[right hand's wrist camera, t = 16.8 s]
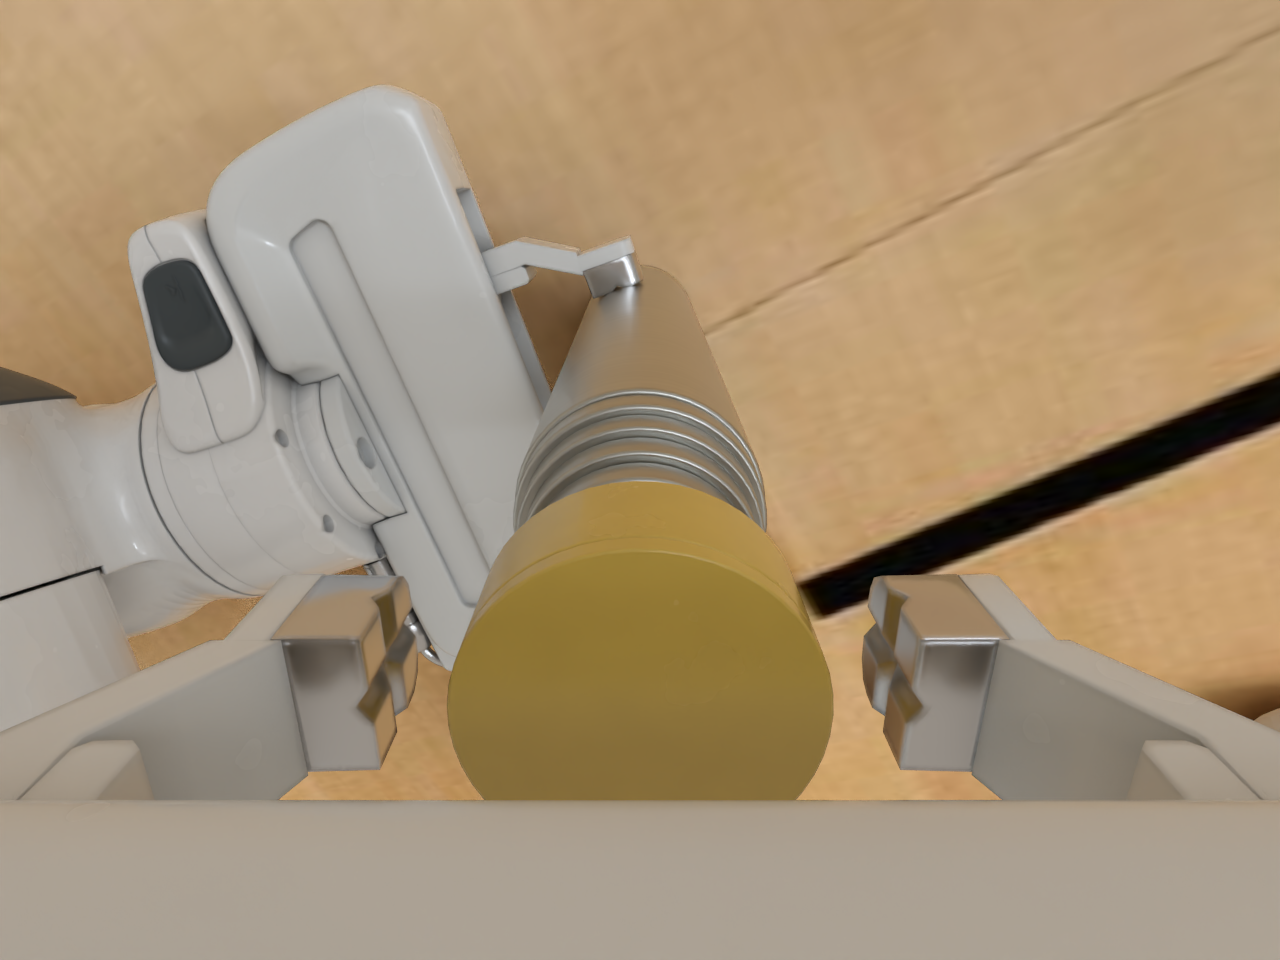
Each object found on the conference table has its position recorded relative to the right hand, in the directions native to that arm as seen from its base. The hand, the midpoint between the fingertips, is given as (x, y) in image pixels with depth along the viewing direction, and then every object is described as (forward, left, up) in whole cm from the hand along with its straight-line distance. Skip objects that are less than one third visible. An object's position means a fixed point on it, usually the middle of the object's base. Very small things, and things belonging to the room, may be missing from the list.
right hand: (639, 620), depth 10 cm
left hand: (0, -1, -18) cm, 18 cm away
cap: (0, 0, +2) cm, 2 cm away
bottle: (0, 0, -23) cm, 23 cm away
